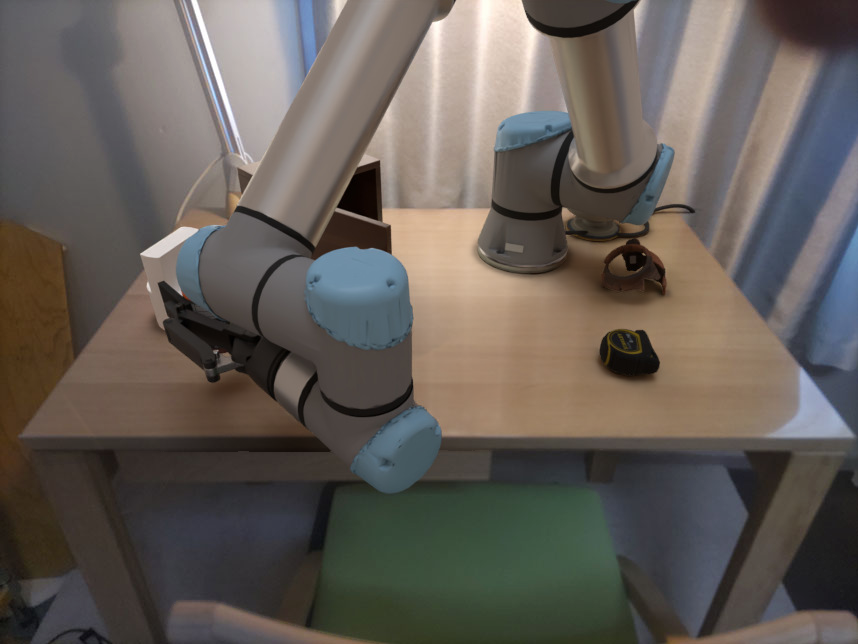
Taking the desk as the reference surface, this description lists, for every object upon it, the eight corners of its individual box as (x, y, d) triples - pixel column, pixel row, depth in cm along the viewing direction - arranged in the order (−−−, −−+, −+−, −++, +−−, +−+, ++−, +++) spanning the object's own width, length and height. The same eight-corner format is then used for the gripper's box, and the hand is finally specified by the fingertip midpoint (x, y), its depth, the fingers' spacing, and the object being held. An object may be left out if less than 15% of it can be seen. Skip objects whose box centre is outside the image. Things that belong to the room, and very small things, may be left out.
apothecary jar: (580, 209, 118) (595, 117, 108) (637, 227, 112) (659, 131, 102) (547, 230, 111) (560, 132, 101) (606, 251, 105) (627, 149, 94)
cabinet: (384, 265, 100) (380, 159, 90) (298, 304, 90) (282, 190, 80) (340, 241, 107) (331, 140, 97) (256, 274, 97) (236, 167, 87)
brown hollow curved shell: (676, 308, 91) (664, 272, 85) (613, 323, 95) (598, 290, 89) (661, 253, 99) (650, 217, 93) (604, 269, 102) (590, 236, 97)
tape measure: (657, 382, 76) (664, 358, 74) (602, 380, 76) (607, 356, 74) (643, 349, 82) (649, 326, 80) (593, 347, 82) (597, 325, 80)
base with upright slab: (197, 338, 83) (177, 262, 76) (143, 326, 85) (119, 251, 78) (234, 305, 90) (219, 232, 83) (184, 294, 92) (165, 222, 85)
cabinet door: (363, 369, 78) (354, 246, 67) (270, 325, 85) (249, 210, 75) (395, 343, 82) (391, 224, 72) (303, 304, 90) (288, 192, 80)
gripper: (221, 452, 54) (119, 340, 68) (382, 359, 65) (266, 279, 78) (203, 389, 50) (97, 283, 63) (378, 301, 60) (256, 226, 74)
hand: (191, 281), depth 71 cm, fingers closed on supplement bottle, 6 cm apart
